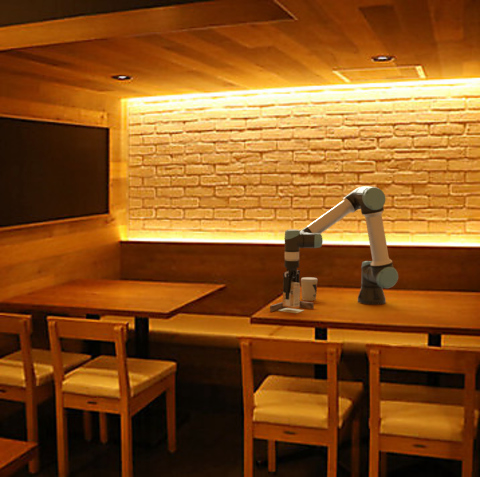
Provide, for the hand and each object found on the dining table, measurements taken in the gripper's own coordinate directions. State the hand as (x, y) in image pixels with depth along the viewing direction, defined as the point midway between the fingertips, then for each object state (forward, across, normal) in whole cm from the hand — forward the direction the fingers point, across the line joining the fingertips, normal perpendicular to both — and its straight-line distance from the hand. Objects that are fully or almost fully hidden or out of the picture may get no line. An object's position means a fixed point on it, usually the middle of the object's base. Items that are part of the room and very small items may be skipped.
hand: (291, 304), depth 351 cm
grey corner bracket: (+3, -2, -1) cm, 4 cm away
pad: (+3, 0, 0) cm, 3 cm away
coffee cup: (+4, -34, -8) cm, 35 cm away
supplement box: (+2, 0, 0) cm, 2 cm away
